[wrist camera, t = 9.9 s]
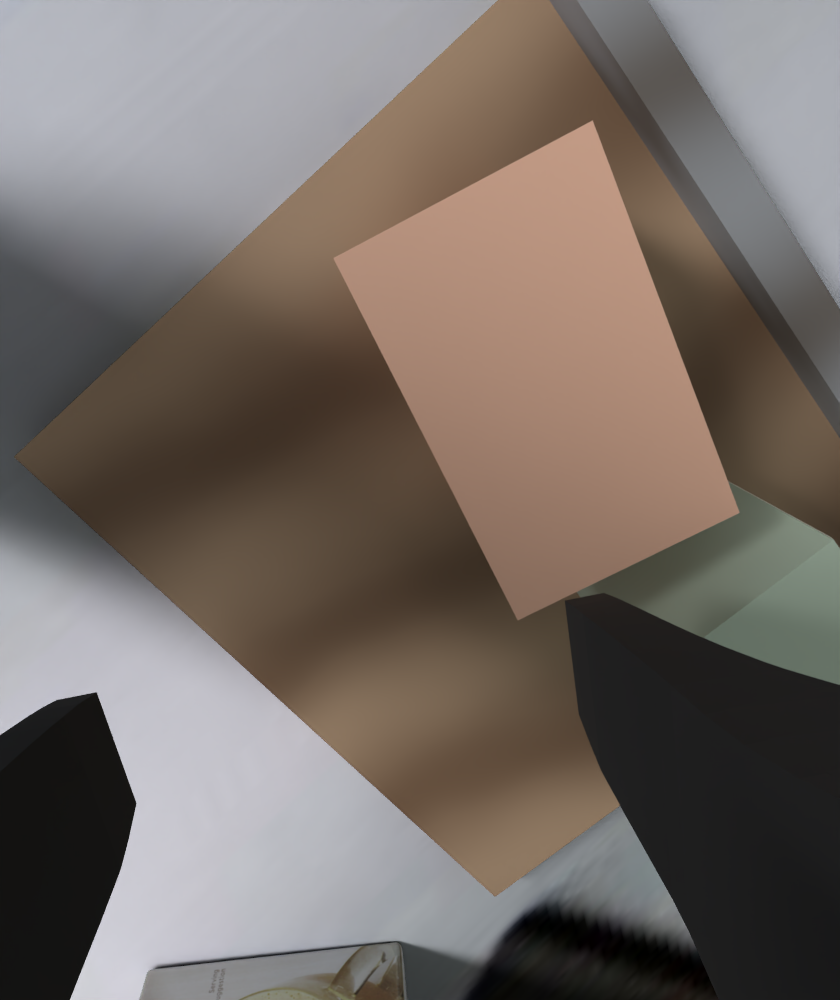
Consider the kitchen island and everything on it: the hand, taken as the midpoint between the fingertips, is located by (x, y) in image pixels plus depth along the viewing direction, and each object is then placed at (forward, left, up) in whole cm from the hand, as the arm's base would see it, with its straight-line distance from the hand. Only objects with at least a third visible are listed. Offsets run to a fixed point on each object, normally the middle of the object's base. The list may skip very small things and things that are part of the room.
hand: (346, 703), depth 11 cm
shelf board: (+3, +3, -10) cm, 11 cm away
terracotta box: (-1, +6, -9) cm, 11 cm away
